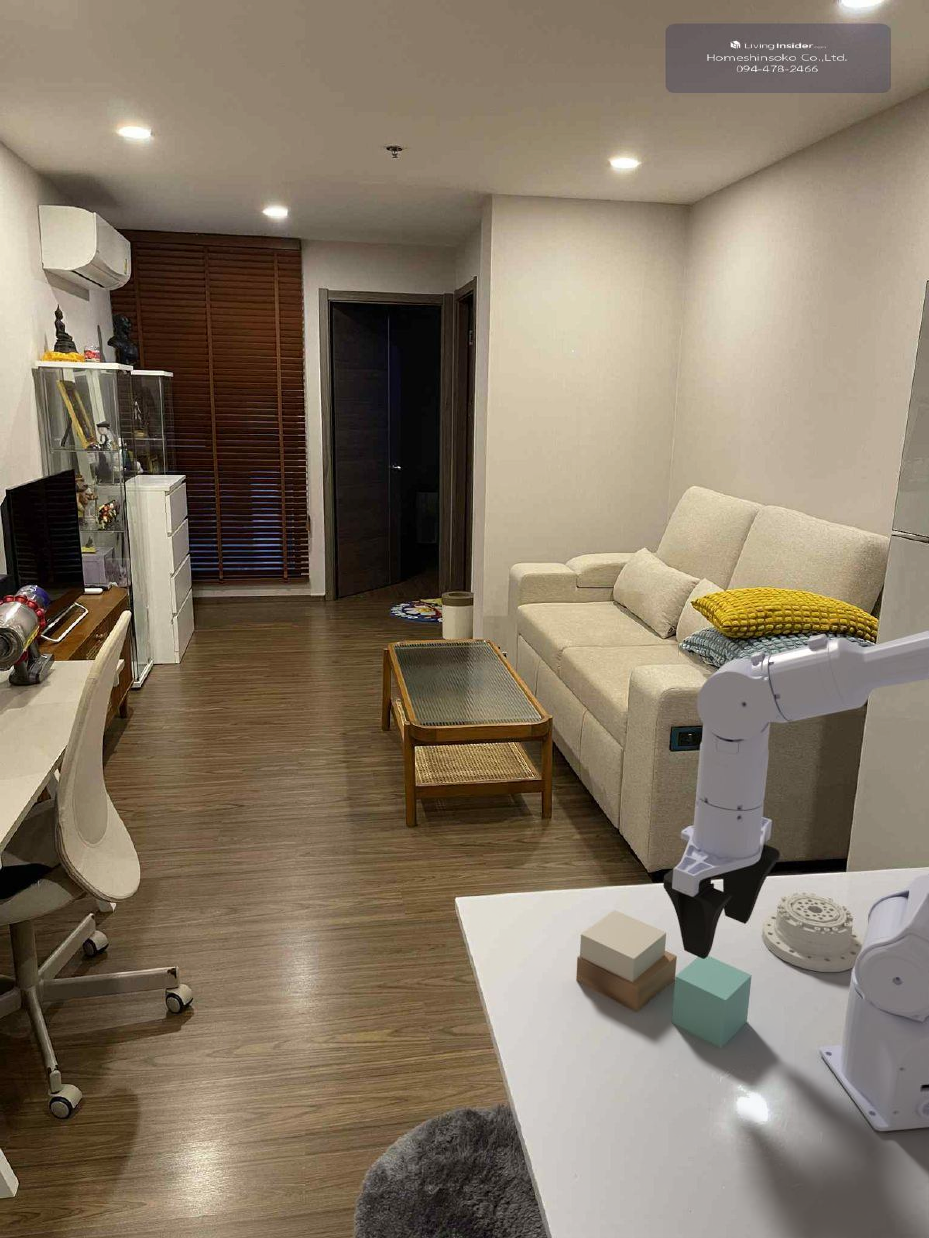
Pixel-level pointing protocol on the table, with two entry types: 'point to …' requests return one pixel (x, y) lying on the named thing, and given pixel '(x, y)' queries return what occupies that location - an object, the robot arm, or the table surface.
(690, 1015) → the cube
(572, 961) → the table surface
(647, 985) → the slab base
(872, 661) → the robot arm
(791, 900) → the mechanical component
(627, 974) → the slab top
